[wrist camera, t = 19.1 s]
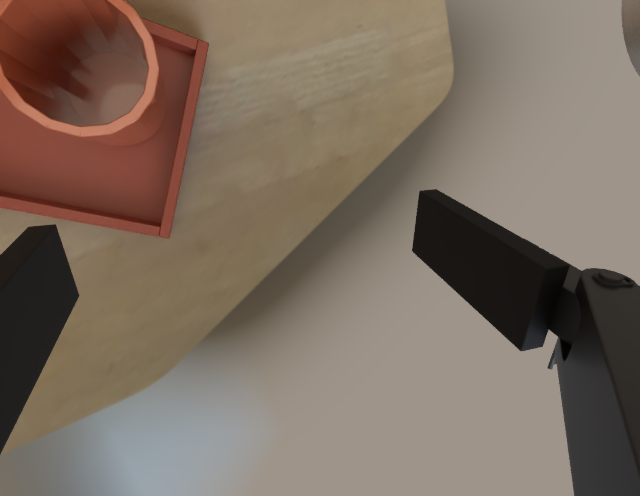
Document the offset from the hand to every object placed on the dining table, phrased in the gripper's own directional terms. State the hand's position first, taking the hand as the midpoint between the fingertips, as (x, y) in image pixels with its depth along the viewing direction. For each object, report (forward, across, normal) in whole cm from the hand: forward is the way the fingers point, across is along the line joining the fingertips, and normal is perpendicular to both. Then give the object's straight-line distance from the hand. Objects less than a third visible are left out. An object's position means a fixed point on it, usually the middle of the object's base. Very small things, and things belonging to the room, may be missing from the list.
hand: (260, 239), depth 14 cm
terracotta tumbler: (+21, -8, +3) cm, 22 cm away
